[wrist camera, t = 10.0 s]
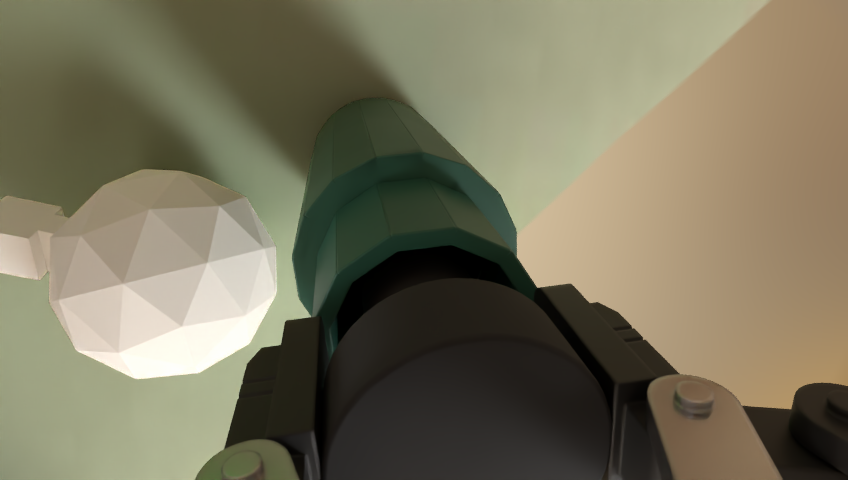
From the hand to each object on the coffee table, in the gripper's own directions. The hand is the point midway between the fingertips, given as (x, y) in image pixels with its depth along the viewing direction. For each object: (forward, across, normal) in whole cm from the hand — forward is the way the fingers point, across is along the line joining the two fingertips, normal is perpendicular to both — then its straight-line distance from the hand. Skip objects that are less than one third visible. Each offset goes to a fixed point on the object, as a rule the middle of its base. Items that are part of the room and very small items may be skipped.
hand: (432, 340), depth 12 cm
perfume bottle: (+17, +11, +2) cm, 20 cm away
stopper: (+2, 0, 0) cm, 2 cm away
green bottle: (+17, 0, 0) cm, 17 cm away
